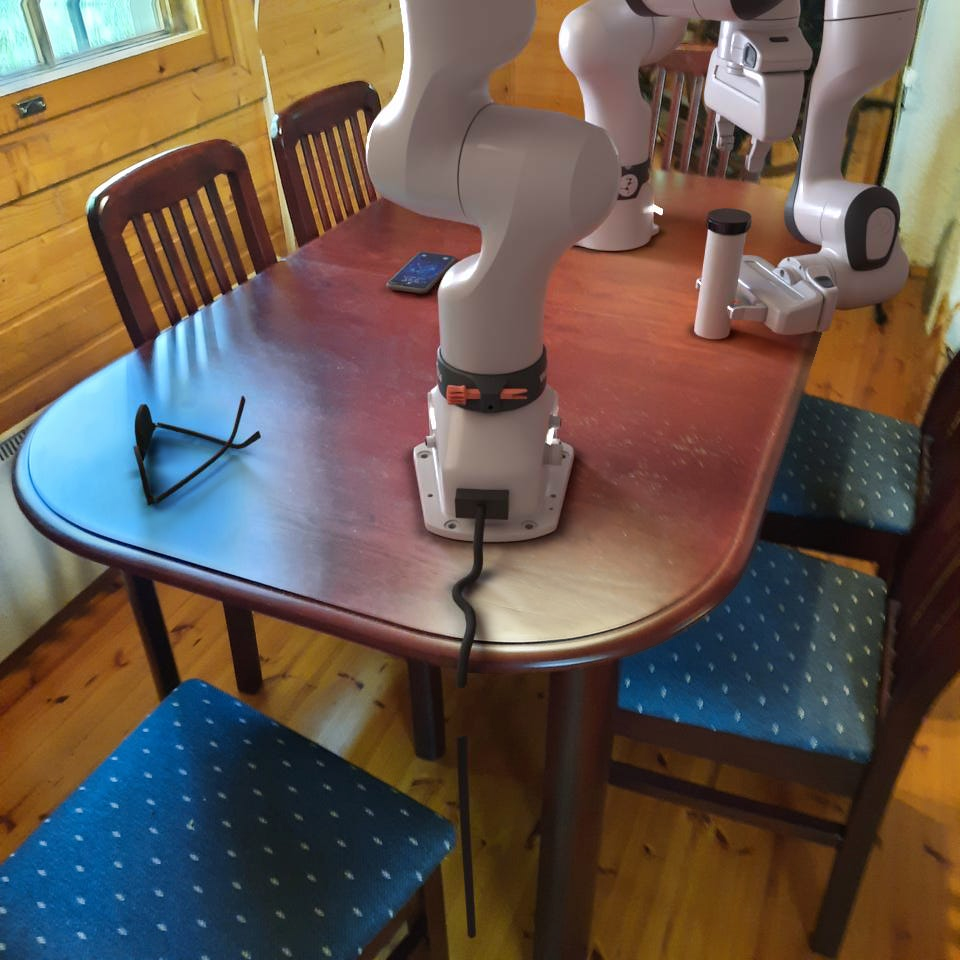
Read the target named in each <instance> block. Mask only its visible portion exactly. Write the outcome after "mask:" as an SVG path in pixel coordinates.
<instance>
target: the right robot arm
mask: <svg viewBox="0 0 960 960" xmlns="http://www.w3.org/2000/svg"><path fill="white" fill-rule="evenodd" d="M918 9H919V0H824V15H823V19H824V21H823V29H822V30H823V32H822V41H821V47H820V49H821V50H820V52H819V58H818V62H817V65H816V67H815V70H814V71H813V73H812V75H811V78H810V80H809V84H808V88H807V92H806V93H807V94H806V99H805V105H804V112H803V117H802V125H801V133H800V139H799V140H800V141H799V146H798V147H799V148H798V154H797V155H798V156H797V161H796V169H795V174H794V177H793V181H792V184H791V187H790V189H789V192H788V194H787V197H786V201H785V204H784V211H783V220H784V225H785V227H786V230H787V232H788V233H789V235H790V236H791V237H792V238H793V239H794V240H795V241H798V243H801V244H805V245H812V246H817V247H818V246H819V247H821V249H820V251H819V252H817V253H809V254H803V255H794V256H787V257H784V258H783V259H781V261H780V262H779V263H778V264H777V267H776V266H775V265H773V264H771V263H770V262H769V261H767V260H766V259H765V258H763V257H761V256H758V255H755V254H753V255H752V254H743V256H742V262H741V268H740V274H739V279H738V285H737V291H736V297H735V302H737V303H734V305H733V304H731V305H729V306H728V308H727V316H728V317H729V318H730V319H731V320H732V322H733V321H741V320H743V321H749V322H754V323H762V324H763V325H765V326H766V327H767V328H768V329H769V330H771V331H772V332H773V333H774V334H777V335H781V336H794V335H795V336H797V335H803V334H809V333H812V332H816V333H823V332H824V333H825V332H828V331H829V330H830V328H831V325H832V322H833V319H834V315H835V312H836V310H837V311H843V312H844V311H845V312H846V311H852V310H859V309H863V308H868V307H871V306H875V305H879V304H882V303H884V302H885V303H886V302H887V301H889V300H891V299H892V298H894V297H895V296H897V295H898V294H899V293H900V292H901V291H902V290H903V288H904V287H905V285H906V284H907V281H908V278H909V274H910V261H909V258H908V255H907V253H906V252H905V251H904V249H903V247H902V246H901V243H900V238H899V230H900V229H899V228H900V224H901V206H900V203H899V200H898V198H897V196H896V195H895V193H893V191H892V190H890V189H889V188H887V187H884V186H881V185H880V186H879V185H876V184H870V183H865V182H857V181H852V180H846V179H845V177H844V176H843V174H842V170H841V164H842V159H843V153H844V147H845V140H846V135H847V129H848V128H847V127H848V122H849V118H850V115H851V113H852V111H853V108H854V107H855V105H856V104H857V103H858V102H859V101H860V99H862V98H863V97H864V96H865V95H867V94H869V93H870V92H872V91H874V90H876V89H877V88H879V87H882V86H883V85H884V84H886V83H887V82H889V81H890V80H891V79H892V78H893V77H894V76H896V74H898V72H899V71H901V69H903V67H904V66H905V65H906V63H907V62H908V60H909V58H910V55H911V53H912V49H913V46H914V42H915V39H916V38H915V37H916V31H917V22H918ZM691 19H692V18H683V17H674V16H668V17H642V16H639V15H637V14H635V13H634V12H633V11H632V10H631V9H630V7H629V6H628V4H627V3H626V1H625V0H588V1H586V2H585V3H583V4H581V5H580V6H578V7H576V8H575V9H573V10H571V12H569V13H567V15H566V16H565V18H564V19H563V21H562V23H561V26H560V28H559V34H558V48H559V49H558V50H559V53H560V56H561V59H562V61H563V63H564V65H565V66H566V68H567V69H568V71H570V72H571V73H572V74H573V75H574V77H575V78H576V80H577V83H578V85H579V88H580V92H581V96H582V97H581V98H582V100H583V101H582V102H583V108H584V121H587V122H589V123H592V124H594V125H597V126H599V127H602V128H604V129H605V130H607V131H608V133H609V134H610V136H611V137H612V139H613V141H614V143H615V145H616V147H617V150H618V153H619V157H620V162H621V170H622V177H621V187H620V191H619V195H618V198H617V201H616V204H615V206H614V208H613V210H612V211H611V213H610V215H609V216H608V218H607V219H606V220H605V221H604V223H603V224H602V225H601V226H600V227H599V228H598V229H597V230H595V231H594V232H593V233H591V234H590V235H589V236H587V237H585V238H583V239H581V240H580V241H579V242H577V243H576V244H574V245H573V246H579V247H583V248H587V249H591V250H595V251H608V252H612V251H613V252H616V251H617V252H619V251H628V250H633V249H637V248H640V247H642V246H645V245H647V244H648V243H649V241H651V238H652V236H655V235H657V234H658V233H659V232H660V229H659V228H660V226H659V224H656V223H654V212H655V213H657V214H658V215H660V216H662V215H663V208H660V206H659V207H658V206H657V205H655V188H654V187H653V186H652V185H651V184H650V183H649V179H650V172H651V169H652V168H651V167H652V166H651V157H650V156H649V155H650V154H649V153H650V143H651V130H652V120H653V112H652V111H653V110H652V108H651V107H652V106H650V104H649V102H648V101H647V100H646V99H644V97H643V95H642V92H641V88H640V81H639V69H640V68H641V67H645V66H649V65H652V64H655V63H657V62H659V61H661V60H662V59H664V58H665V57H668V55H670V54H672V53H673V52H674V51H675V50H676V49H677V48H679V46H680V45H681V44H682V42H683V41H684V39H685V37H686V34H687V30H688V25H689V22H690V21H691ZM701 278H702V277H698V278H697V279H696V281H695V289H696V290H697V291H698V293H699V292H700V285H701Z"/></svg>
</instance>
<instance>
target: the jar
mask: <svg viewBox="0 0 960 960" xmlns="http://www.w3.org/2000/svg"><path fill="white" fill-rule="evenodd" d="M746 238H747V232H746V233H743V234H738V235H725V234H719V233H715V232H712V231H710V230H709V229H708V228H707V236H706V242H705V249H704V257H703V263H702V270H701V271H702V272H701V277H700V278H701V285H700V292H699V291H698V300H697V306H696V314H695V321H694V329H693V331H694V333H695V335H697V336H698V337H700V338H704V339H707V340H722V339H725V338H727V337H728V336H729V335H730V332H731V325H732V322H733V320H731V319H730V318H729V317H728V316H727V308H728V306H729V305H731V304H733V305H734V304H736V303H735V302H736V300H735V297H736V291H737V285H738V279H739V274H740V268H741V262H742V256H743V255H744V250H745V244H746Z"/></svg>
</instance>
